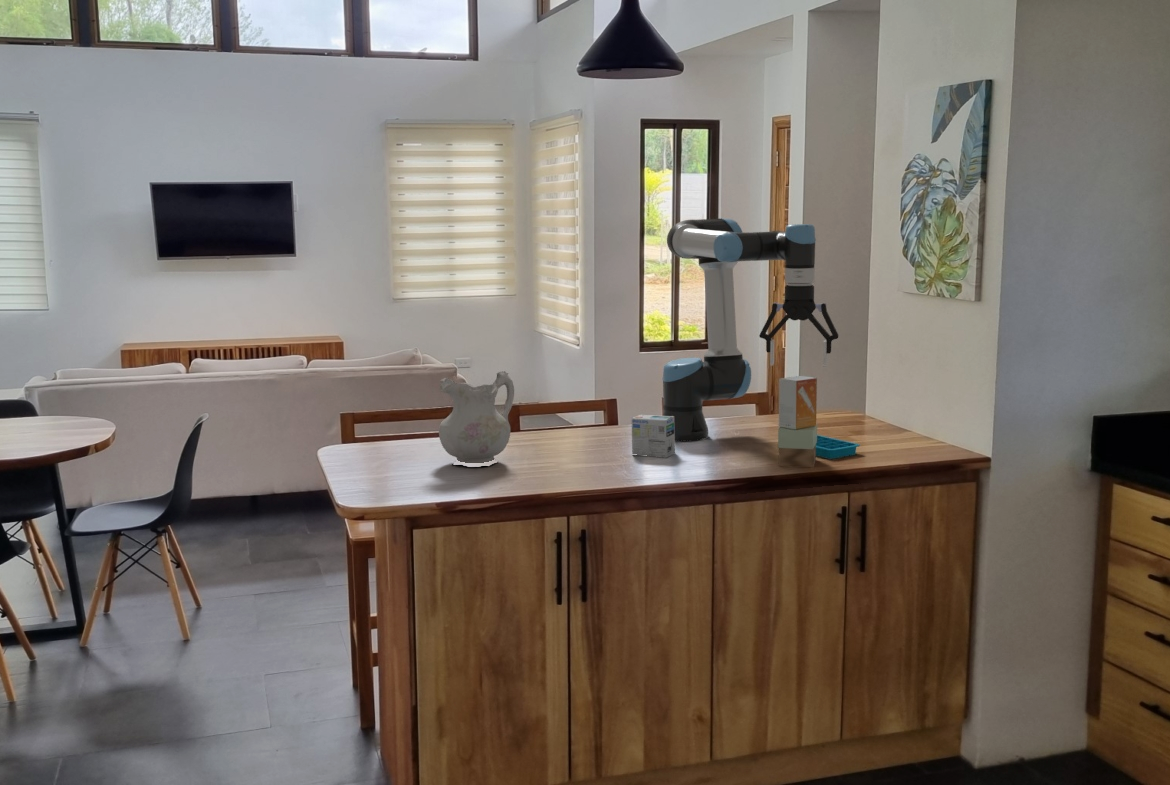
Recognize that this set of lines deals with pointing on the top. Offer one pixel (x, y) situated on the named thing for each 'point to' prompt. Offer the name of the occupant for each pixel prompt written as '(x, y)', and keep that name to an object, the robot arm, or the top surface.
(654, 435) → the light bulb box
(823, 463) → the top surface
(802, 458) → the walnut block
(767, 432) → the top surface
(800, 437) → the sage block
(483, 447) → the ceramic pitcher
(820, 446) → the ice cube tray
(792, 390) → the small box
